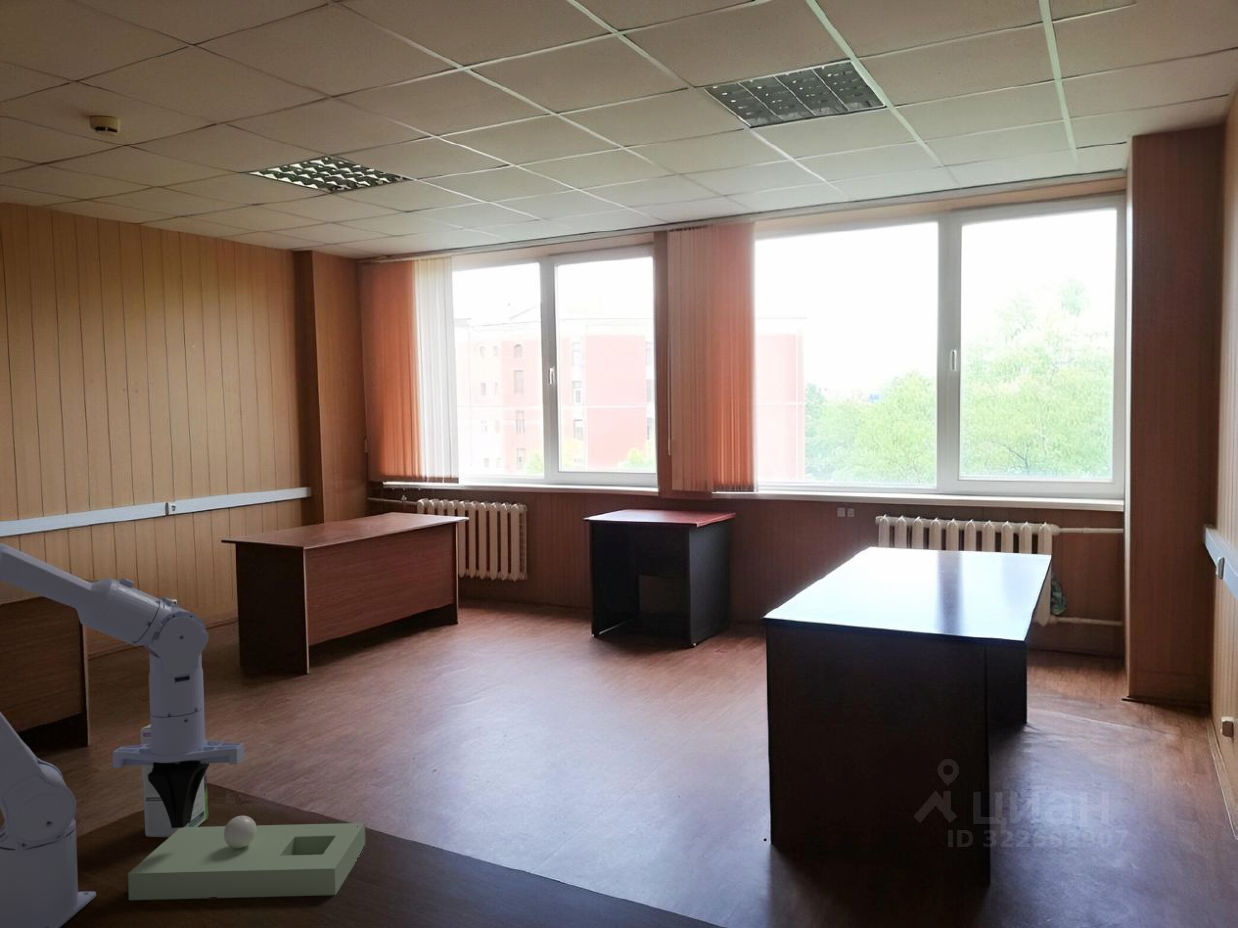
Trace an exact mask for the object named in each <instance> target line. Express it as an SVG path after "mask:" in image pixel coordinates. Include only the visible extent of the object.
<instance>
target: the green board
mask: <svg viewBox="0 0 1238 928" xmlns="http://www.w3.org/2000/svg"><path fill="white" fill-rule="evenodd" d="M357 826H358V827H357ZM225 827H226V825H222V826H198V827H183V828H179V829H178V830H177V831H176V832H175V833H174V834H173V835H171V836H170V837H167V839H165V841H164V842H162V843H161V844H160V845H159V846H157V848H155V849H154V850H153V851H152V852H151V853H149V854H148V855H147V856H146V857H145V858H143V860H142V861H140V863H138V864H137V865H136V866H135V867H134V868H132V870H130V871H129V872H128V874H127V878H128V879H127V881H128V882H127V884H128V900H129V901H143V900H144V901H145V900H146V901H147V900H148V901H149V900H153V901H154V900H181V899H182V900H187V899H212V898H211V897H217V898H216V899H227V898H228V899H230V898H234V899H235V898H268V897H269V898H270V897H275V898H276V897H305V896H307V897H308V896H309V897H310V896H314V897H315V896H336V895H337V893H338V891H339V890H340V889H341V887H342V885H343V884H344V883H345V881H346V879H347V877H348V875H350V872H351V871H352V869H353V868H354V866H355V864H356V863H357V861H358V860H357V858H358V857H359V858H360V856H361V855H360V853H361V851H362V849H363V847H364V845H365V846H366V823H365V822H351V823H349V822H348V823H347V822H346V823H345V822H344V823H308V824H307V823H306V824H271V825H269V824H268V825H267V824H266V825H265V824H264V825H261V824H260V825H257V824H256V827H257V832H256V836H255V838H254V840H253V841H252V842H251V843H250V844H249V845H248V846H246V847H243V848H239V849H237V848H232V847H230V846H229V845H228V844H227V843H226V842H225V840H224V829H225ZM362 852H363V851H362ZM361 854H362V853H361ZM359 855H360V856H359ZM359 858H358V859H359ZM355 862H356V863H355ZM202 897H203V898H202ZM209 897H210V898H209Z"/></svg>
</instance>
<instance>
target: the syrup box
mask: <svg viewBox="0 0 1238 928" xmlns="http://www.w3.org/2000/svg"><path fill="white" fill-rule="evenodd" d="M139 731H140V733H139V734H140V745H143V744H151V724H150V723H149V724H148V725H146V726H144V727H142V728H140V730H139ZM152 768H153V765H141V772H142V773H141V775H142V778H141V779H142V790H143V791H142V794H143V813H144V815H143V816H144V833H145V834H144V835H145V837H148V838H149V837H150V838H151V837H152V838H169V837H170V836H171V835H173V834H174V833H175V832H176V831H177V830H178V829H179V828H172V827H171V823H170V820H169V817H168V814H167V811H166V808H165V806H164V804H163V801H162V799H161V798H160V796H159V794H158V792H157V791H156V790H155V788H154V787H153V785H152V784H151V783H150V782H149V781H148V774H149V773H150V772H152ZM207 777H208V776H207V771H206V772H205V774H204V776H203V779H202V781H201V783H200V786H199V789H198V791H197V795H196V798H195V802H194V806H193V811H192V817H191V821H190V822H189V823H188V824H187V825H186V826H185V827H200V826H201V824H202V823H204V822H205V821H207V819H208V818H209V805H208V804H209V803H208V802H209V799H208V780H207Z"/></svg>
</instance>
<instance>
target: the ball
mask: <svg viewBox="0 0 1238 928" xmlns="http://www.w3.org/2000/svg"><path fill="white" fill-rule="evenodd" d="M225 826H226V827H225V829H224V840H225V842H226V843H227V844H228V845H229V846H230V847H232V848H237V849H239V848H243V847H246V846H248V845H249V844H250V843H251V842H252V841H253V840H254V838H255V836H256V832H257V827H256V826H257V824H256V821H254V819H253V818H251V817H250V816H248V815H237V816H235V817H233V818H232V819H230V820H229V821H228V822H227V823H226V825H225Z"/></svg>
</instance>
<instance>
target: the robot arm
mask: <svg viewBox="0 0 1238 928" xmlns="http://www.w3.org/2000/svg"><path fill="white" fill-rule="evenodd" d="M0 582H3V583H7V584H10V585H12V586H15V587H17V588H20V589H22V590H25V591H28V592H31V593H34V594H36V595H39V596H41V597H44V598H47V599H50V600H53V601H55V602H58V603H61V604H63V605H65V606H69V607H71V608H74V609H75V610H76V611H77V615H78V618H79V622H80V624H81V625H83V626H84V627H85V628H89V629H92V630H95V631H98V632H100V633H103V634H104V635H107V636H110V637H111V638H112V637H113V638H115V639H117V640H119V641H122V642H125V643H127V644H129V645H132V646H134V647H140V646H144V647H145V648H146V649H147V650H148V651H149V652H150V653H149V654H148V655H149V656H148V657H149V673H148V687H149V688H148V689H149V693H148V694H149V717H150V719H149V720H150V722H149V725H150V724H151V744H143V745H141V744H137V745H135V744H134V745H124V746H123V745H122V746H120V747H117V749H115V750H114V751H112V768H113V769H115V768H116V769H119V768H125V767H126V766H142V765H153V768H152V772H150V773H149V774H148V781H149V782H150V783H151V784H152V785H153V787H154V788H155V790H156V791H157V792H158V794H159V796H160V798H161V799H162V801H163V804H164V806H165V808H166V811H167V814H168V817H169V820H170V823H171V827H172V828H183V827H185V826H186V825H187V824H188V823H189V822H190V821H191V817H192V811H193V806H194V802H195V798H196V795H197V791H198V789H199V786H200V783H201V781H202V779H203V776H204V774H205V772H206V773H207V770H208V768H209V766H210V764H225V763H227V764H228V765H231V766H232V765H238V764H239V763H241V762H242V761H243V760H244V759H245V748H244V746H245V745H244V742H228V741H227V742H226V741H220V740H219V741H216V740H210V739H209V740H208V739H206V727H205V726H206V725H205V722H206V721H205V694H204V693H205V692H204V689H205V688H204V669H203V668H202V667H203V663H202V659H203V658H202V657H203V656H202V653H203V651H204V650H205V649H206V647H207V644H208V641H209V638H210V637H209V635H210V633H209V632H207V630H206V626H205V623H204V622H203V621H202V619H201V618H200V617H199V616H197V615H196V614H194V613H192V612H190V611H188V610H186V609H184V608H181V606H179V605H178V604H174V600H173V599H170V598H169V597H166V596H164V597H162V598H158V597H156V596H153V595H152V594H149V593H147V592H144V591H141V590H139V589H137V588H135V587H134V585H135V584H136V583H135V582H134V581H132V580H129V579H127V578H125V577H121V578H120V579H119V580H117V579H115V578H111V577H108V578H104V579H101V580H99V581H95V582H93V581H92V582H89V581H87V580H84V579H83V578H80V577H78V576H76V575H74V574H72V573H69V572H67V571H66V570H63V569H61V568H59V567H57V566H54V565H52V564H50V563H48V562H45V561H44V560H41V559H39V558H37V557H34V556H32V555H30V554H29V553H28V554H27V553H26V552H23V551H21V550H19V549H16V548H15V547H13V546H10V545H9V544H5V543H3V542H0ZM63 776H64V775H63V774H62V772H61V770H60V769H59V768H58V767H57V766H56V765H53V764H52V763H49V762H47V761H44V760H42V759H40V758H38V757H37V756H36V755H35V753H34V752H33V751H32V749H31V748H30V747H29V746H28V745H27V744H26V743H25V742H24V741H23V739H21V737H20V736H19V734H18V733H17V732H16V731H15V729H14V728H13V727H12V725H11V723H9V721H8V720H7V719H6V717H5V716H4V715H3V714H2V712H1V711H0V811H1V813H2V817H3V818H4V819H3V820H4V823H3V826H1V828H0V928H61V927H62V926H63V925H64V924H66V923H67V922H68V921H69V920H70V919H71V918H73V917H74V916H75V915H76V914H78V912H80V910H82V909H83V908H84V907H86V905H88V904H89V903H90V902H91V901H93V899H94V898H95V897H96V896H97V892H96V891H79V884H78V883H79V882H78V854H77V853H78V851H77V849H78V848H77V846H78V845H77V827H76V826H77V822H76V819H75V818H74V817H75V816H76V811H77V800H76V797H75V795H74V793H73V791H72V790H71V789H70V788H69V787H68V786H67V784H66V783H65V779H64V777H63Z"/></svg>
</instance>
